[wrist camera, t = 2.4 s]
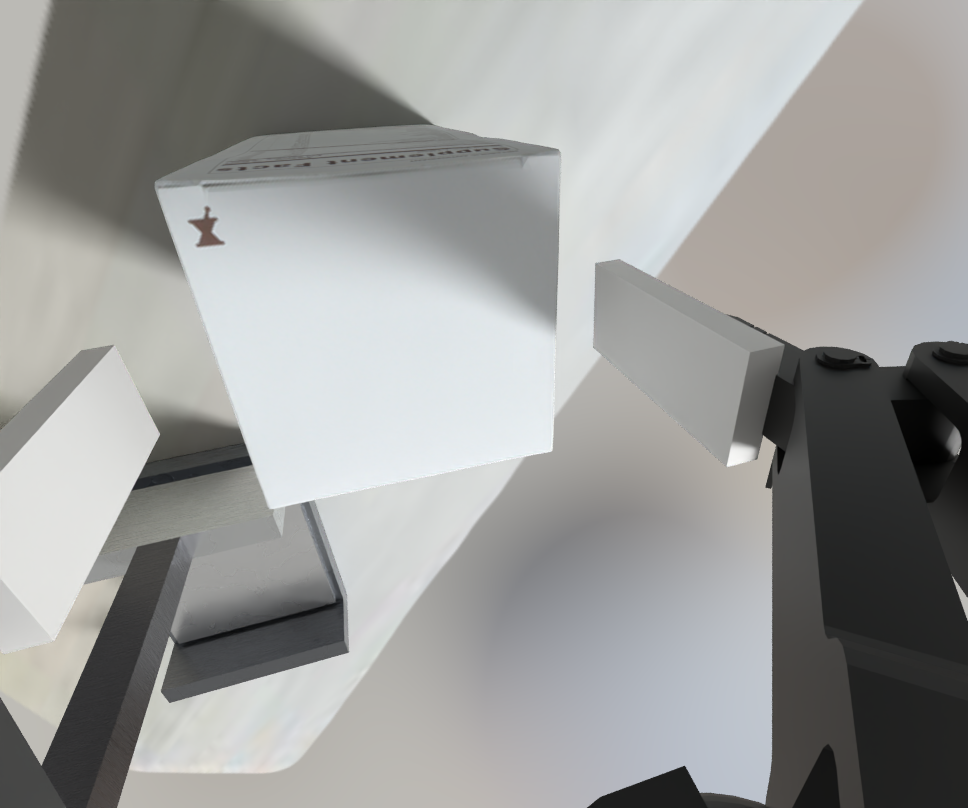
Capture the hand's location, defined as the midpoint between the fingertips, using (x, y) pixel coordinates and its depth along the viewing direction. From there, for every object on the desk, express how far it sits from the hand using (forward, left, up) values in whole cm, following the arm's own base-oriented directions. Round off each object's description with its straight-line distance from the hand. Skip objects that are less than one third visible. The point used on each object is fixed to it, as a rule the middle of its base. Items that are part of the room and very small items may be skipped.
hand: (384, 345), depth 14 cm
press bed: (+13, +20, -16) cm, 29 cm away
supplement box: (0, 0, -16) cm, 16 cm away
